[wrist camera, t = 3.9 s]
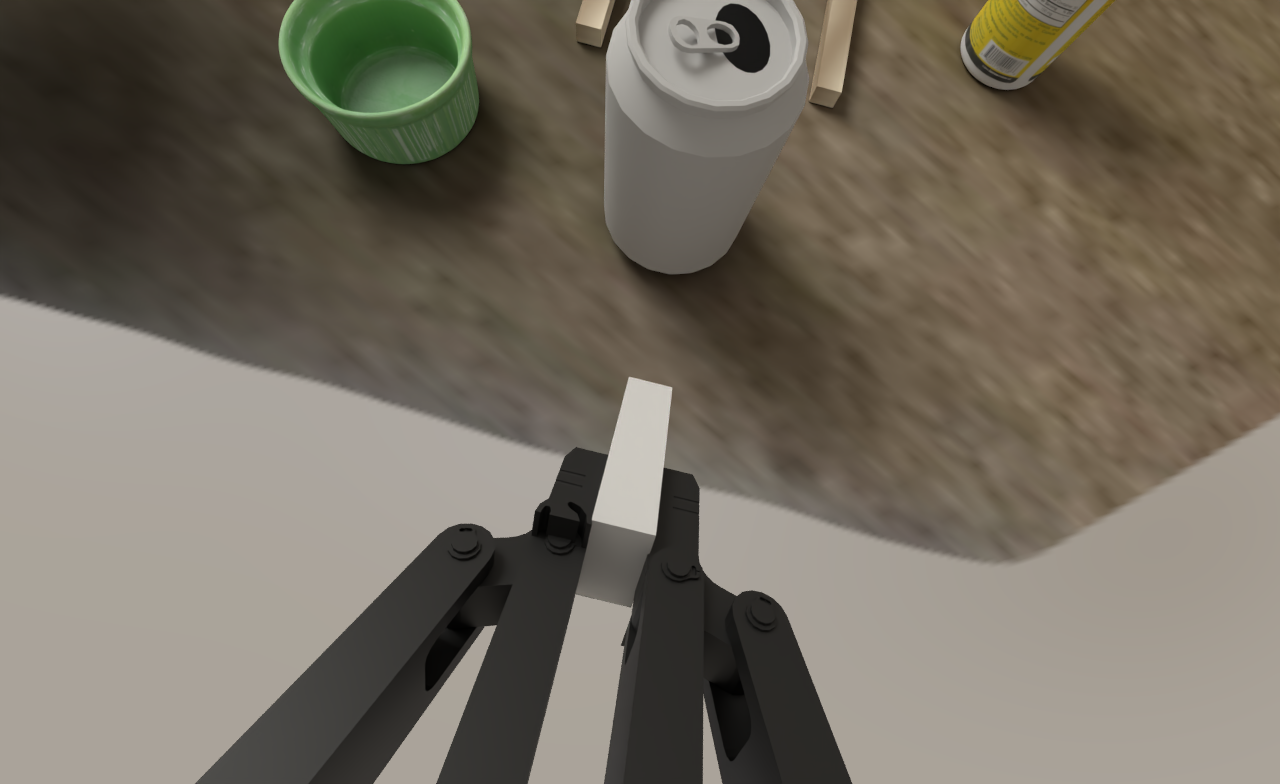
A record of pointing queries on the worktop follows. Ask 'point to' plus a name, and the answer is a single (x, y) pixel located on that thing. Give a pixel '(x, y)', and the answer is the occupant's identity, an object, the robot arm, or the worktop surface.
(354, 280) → the worktop surface
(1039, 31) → the supplement bottle
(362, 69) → the ramekin
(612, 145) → the can
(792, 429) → the worktop surface
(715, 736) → the robot arm
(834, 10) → the stop frame
